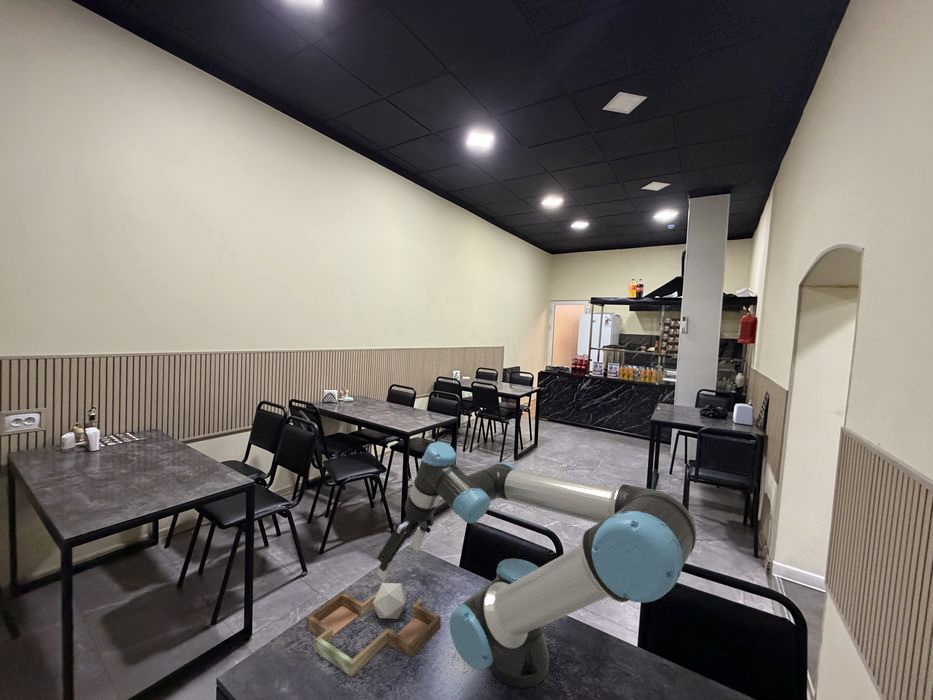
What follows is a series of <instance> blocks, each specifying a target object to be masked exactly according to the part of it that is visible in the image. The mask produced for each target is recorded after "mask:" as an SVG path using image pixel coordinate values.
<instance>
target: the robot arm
mask: <svg viewBox="0 0 933 700" xmlns="http://www.w3.org/2000/svg"><path fill="white" fill-rule="evenodd" d="M456 460H457V453H456V451H455V449H454V448H453V447H452V446H451V445H449V444H448V443H446V442H442V441H440V442H439V441H435V442H431V443H429V445H428V446H427V447H426V450H425V451H424V454H423V456H422V458H421V461H420V464H419V467H418V470H417V474H416V476H415V478H414V479H413V480H412V482H413V484H412V486H411V487H410V488H411V489H410V491H409V493H408V496H407V498H406V499H407V500H406V502H405V503H404V504H405V505H404V511H405V514H406V516H405V517H404V519H403V521H402V523H400V522H397V523H396V525H395V527H394V529H393V531H392V533H391V534H390V536H389V538H388V540H387V541H386V543H385V544H384V546H383V548H382V549H381V551H380V552H379V554H378V556H377V558H376V559H377V560H378V561H379V562H380V564H379V567H378V569H377V572H376V575H377V576H378V577H379V578H380V579H381V580H383V582H386V580H387V579H388V575H389V573H390V570H391V569H392V565H393V563H394V558H395V556H396V555H397V554H398V552H399V550H400V549H401V547H402V546H403V545H404V543H405V542H406V540H407V539H409V538H411V537H412V535H413V534H414V535H413V537H412V541H411V542H410V547H411V548H412V549H413V550H414V551H416V552H420V548H421V546H422V544H423V542H424V540H425V539H424V538H425V536H426V534H430V532H431V530H432V529H431V528H430V527H432V526H433V525H434V521H435V520H434V518H435V517H434V516H435V510H436V509H437V507H438V506H437V505H438V504H439V503H440V502H439V501H440V499H441V498H442V500H443V501H444V502H445V503H446V504H447V506H449V507H450V508H451V510H452V511H453V512H454V513H455V514H456V515H458V516H459V517H460V519H462V521H464V522H465V523H466V524H474V523H477V522H478V521H479V520H480V519H481V518H482V517H484V516H485V514H486V513H487V512H488V509H489V508H490V506H491V502H492V501H494V500H497V499H501V500H505V501H507V502H508V501H510V502H512V503H513V502H515V503H518V504H521V505H525V506H530V507H532V508H536V509H537V508H538V509H541V510H545V511H548V512H552V513H557V514H559V515H560V514H561V515H564V516H567V517H568V516H569V517H571V518H576V519H579V520H583V521H587V522H590V523H595V525H593V526H591V527H590V528H588V529H587V530H585V531H584V533H583V534H582V536H581V537H582V538H581V544H580V545H578V546H576V547H575V548H572V549H570V550H569V551H567V552H565V553H563V554H562V555H560V556H558V557H557V558H554V559H553V560H551V561H548V562H547V563H545V564H544V565H542V566H540V567H539V566H537V565H536V564H534V563H533V562H530V561H527V560H525V559H520V558H519V559H518V558H506V559H502V560H501V561H500V562H499V563H498V565H497V568H496V571H495V572H496V577H495V579H494V580H492V581H491V582H490V583H489V582H488V584H486V585H485V586H484V587H483V588H481V589H480V590H478V591H477V592H475V594H473V595H472V596H470V597H469V598H467V599H466V600H465V601H464V602H462V603H459V604H458V605H457V606H456V608H454V609H453V611H452V612H451V614H450V618H449V631H450V636H451V640H452V643H453V646H454V648H455V649H456V651H457V653H458V654H459V656H460V657H461V659H462V660H463V661H464V662H465V664H466V665H468V667H470V668H472V669H474V670H475V671H484V670H485V669H486V668H489V670H490V671H491V673H492V674H493V675H494V677H496V679H498V680H499V681H501V682H503V683H504V684H507V685H508V686H511V687H514V688H515V687H516V688H531V687H534V686H537V685H538V684H540V683H541V682H543V681H544V680H545V679H546V677H547V675H548V673H549V671H550V670H549V669H550V653H549V649H548V646H547V641H546V637H545V634H544V626H545V625H548V624H550V623H552V622H555V621H557V620H559V619H562V618H563V617H565V616H569V615H571V614H572V613H575V612H577V611H579V610H582V609H584V608H586V607H589V606H591V605H593V604H595V603H597V602H600V601H602V600H604V599H606V598H608V597H609V598H610V599H611V600H613V601H616V602H617V603H626V602H629V601H630V602H632V603H633V602H634V603H649V602H654V601H657V600H659V599H660V598H662V597H663V596H665V595H666V594H667V593H669V592H670V591H671V590H672V588H674V587H675V585H676V584H677V582H678V581H679V578H680V576H681V573H682V571H683V570H682V569H683V568H684V565H685V564H686V562H687V560H688V559H689V556H690V555H691V554H692V553H693V550H694V548H695V547H696V542H697V531H696V530H697V529H696V524H695V521H694V519H693V517H692V515H691V513H690V512H689V510H688V509H687V508H686V507H685V506H684V505H683V504H682V502H680V501H679V500H678V499H676V498H675V497H673V496H671V495H670V494H668V493H666V492H664V491H660V490H657V489H652V488H646V487H641V486H636V485H630V484H623V483H621V484H620V485H618V486H617V487H613V486H606V485H601V484H596V483H590V482H585V481H579V480H573V479H568V478H563V477H558V476H557V477H556V476H551V475H547V474H542V473H536V472H530V471H526V470H521V469H517V468H516V467H515V466H513V465H512V463H509V462H501V463H495V464H493V465H491V466H489V467H486V468H483V469H480V470H478V471H476V472H473V473H472V472H471V473H470V474H466V473H465V472H464V471H462V469H461V468H459V467H458V466H457V464H456ZM407 532H408V533H407Z"/></svg>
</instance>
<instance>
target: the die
mask: <svg viewBox="0 0 933 700" xmlns="http://www.w3.org/2000/svg"><path fill="white" fill-rule="evenodd" d="M377 592H378V593H377V595H376V597H375V599H374V602H373V605H374V610H375V612H376V614H377V616H378V619H387V620H388V619H389V620H392V619H393V620H394V619H395V620H398V619H399V618H400V615H401V613H402V610H403V607H404V605H405V603H406V601H407V597H406V593H405V591H404V588H403V585H402V583H398V582H397V583H396V582H395V583H394V582H393V583H392V582H381V584H380V587H379V588H378V590H377Z"/></svg>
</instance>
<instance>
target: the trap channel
mask: <svg viewBox="0 0 933 700" xmlns="http://www.w3.org/2000/svg"><path fill="white" fill-rule="evenodd" d="M377 593H378V591H376V592H375V593H374V594H372V595H371V596H370V597H369V598H367V599H366V600H364V601H363V602H361V601H359V600H358V599H356V598H354V597H352V596H350V595H348V594H347V593H345V592H344V591H343V592H341V593H339V594H338V595H337V596H335V597H334V598H332V599H331V600H329V601H328V602H326V603H327V604H326V603H325V604H323V605H322V606H323V607H322V606H321V608H320V607H319V608H320V609H319V608H318V610H317V609H316V610H317V611H316V610H314V611H313V612H314V613H313V612H312V613H313V614H312V613H310V614H311V615H310V614H309V615H310V616H309V615H308V616H309V617H308V618H307V617H306V618H305V619H306V620H305V621H306V622H305V623H306V625H305V626H306V627H305V629H307V630H308V631H310V632H312V633H313V634H314V635H316V637H315V638H314V653H315V652H316V653H317V654H319V656H321V657H322V658H324V659H325V660H327V661H328V662H329V663H331V664H332V665H334V666H336V668H338V669H340V670H341V671H342V672H344V673H345V674H347V675H348V676H349V677H351V678H353V676H355V675H356V674H357V673H358V672H359V671H360V670H361V669H362V668H363V667H364V666H365V665H366V664H368V662H370V660H372V658H373V657H375V656H376V655H377V654H378V653H379V652H380V651H381V650H382V649H383V648H384V647H385V646H386V645H389V646H390V647H391V648H393V649H395V650H396V651H398V652H399V653H402V654H403V655H405V656H407V657H409V658H410V659H413V658H414V657H415V656H416V655H417V654H418V652H420V650H421V649H422V648H423V647H424V646H425V645H426V644H427V643H428V641H430V640H431V639H432V637H434V635H435V634H436V633H437V632H438V631H439V630H440V629H441V623H442V622H441V621H442V620H441V619H442V618H441V616H440V615H438V614H436V613H434V612H431V610H428V609H426V608H424V607H423V603H424V600H423V599H421V598H419V599H418V600H417V601H416V602H415V603H414V604H412V606H411V617H412V618H413V619H412V620H411V621H409V623H407V624H406V625H405V626H404V627H403V628H402V629H401V630H400V631H399V632H398V633H396V632H395V631H393V630H391V629H390V628H387V627H386V629H385V630H383V631H382V632H381V633H380V634H379V635H378V636H377V637H375V638H374V639H373V640H372V641H371V642H369V644H368V645H366V646H365V647H364V648H363V649H362V650H361V651H360V652H358V654H356V655H355V656H354V657H353V658H351V657H350V656H349V655H347V654H345V653H344V652H343V651H341V650H340V649H338V648H336V647H335V646H333V645H332V644H330V643H331V642H333V636H335V635H336V634H337V633H339V631H341V630H343V628H344V627H346V626H348V625H349V624H350V623H351V622H353V621H354V620H355V619H356V618H358V616H359V617H361V618H363V617H364V616H365V615H367V614H368V613H369V612H371V611H372V610H373V609H375V607H374V605H373V602H374V599H375V597H376V595H377Z"/></svg>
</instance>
